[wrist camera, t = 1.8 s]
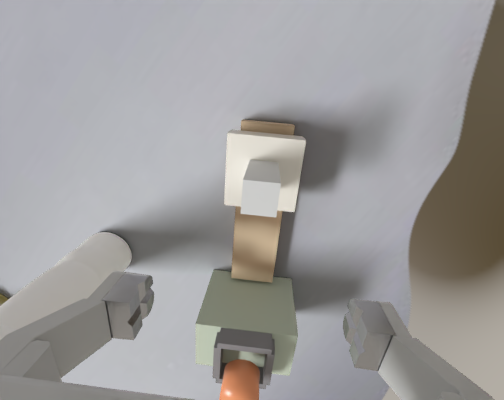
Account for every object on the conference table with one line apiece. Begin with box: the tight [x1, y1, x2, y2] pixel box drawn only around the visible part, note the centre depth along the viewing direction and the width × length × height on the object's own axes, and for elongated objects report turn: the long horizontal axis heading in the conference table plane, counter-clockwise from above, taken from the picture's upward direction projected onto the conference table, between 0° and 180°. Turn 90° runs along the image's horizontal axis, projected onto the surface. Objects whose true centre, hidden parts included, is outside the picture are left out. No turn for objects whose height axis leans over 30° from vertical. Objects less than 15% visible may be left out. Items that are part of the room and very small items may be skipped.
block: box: [231, 120, 295, 283], centre depth 33 cm, size 22×6×2 cm, turn 175°
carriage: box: [224, 130, 306, 217], centre depth 25 cm, size 8×8×10 cm
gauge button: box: [219, 359, 260, 400], centre depth 27 cm, size 4×4×3 cm
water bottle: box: [0, 232, 132, 340], centre depth 27 cm, size 7×7×25 cm
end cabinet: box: [196, 270, 298, 389], centre depth 34 cm, size 7×12×12 cm, turn 85°
